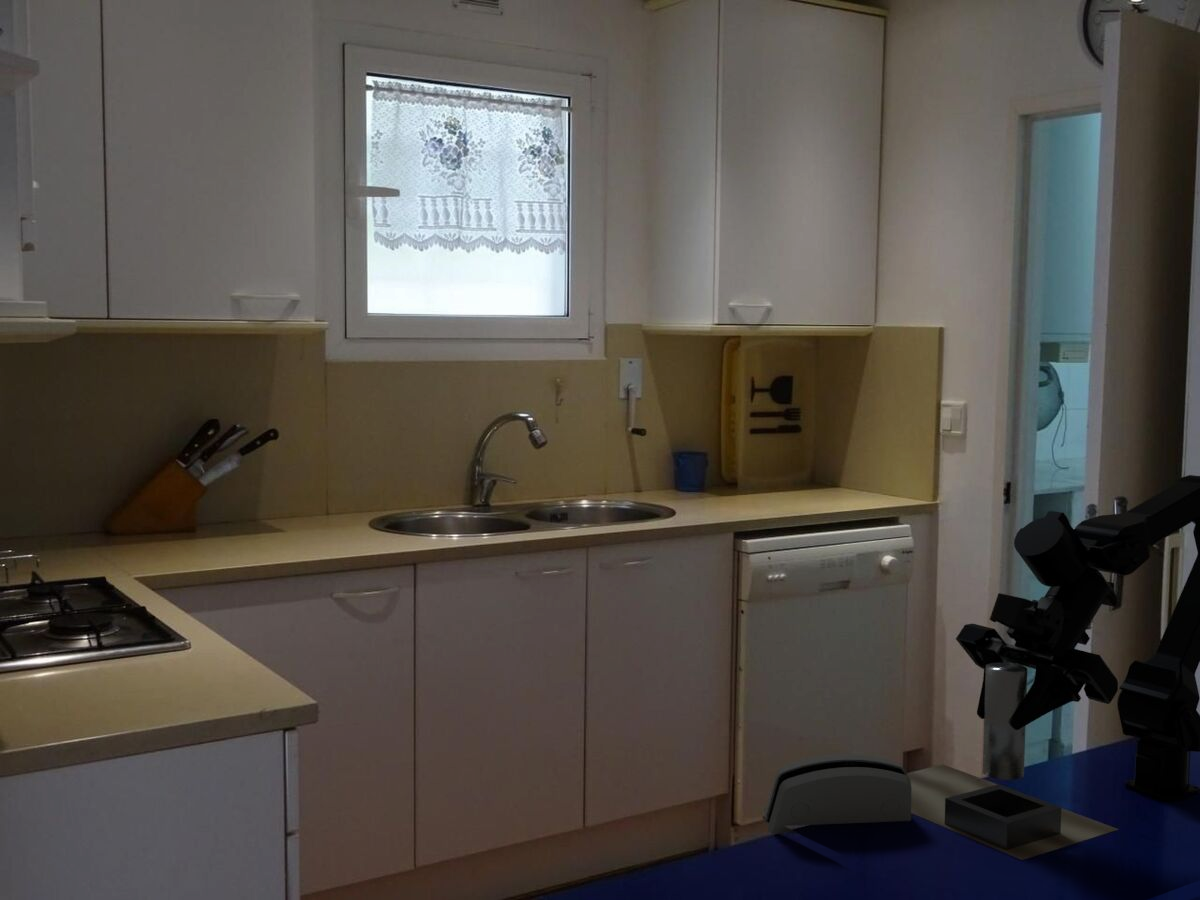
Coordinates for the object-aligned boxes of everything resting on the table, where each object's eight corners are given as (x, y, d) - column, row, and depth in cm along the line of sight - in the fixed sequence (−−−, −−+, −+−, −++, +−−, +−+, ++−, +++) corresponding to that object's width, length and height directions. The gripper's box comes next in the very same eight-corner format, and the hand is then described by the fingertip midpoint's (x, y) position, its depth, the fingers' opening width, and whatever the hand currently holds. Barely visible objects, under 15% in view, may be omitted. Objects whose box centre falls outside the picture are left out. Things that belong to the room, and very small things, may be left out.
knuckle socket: (997, 809, 156) (998, 784, 156) (1060, 833, 149) (1061, 807, 148) (944, 824, 151) (945, 798, 151) (1006, 850, 144) (1007, 823, 144)
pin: (990, 764, 152) (993, 660, 151) (1029, 771, 150) (1032, 666, 149) (977, 775, 149) (980, 669, 148) (1016, 782, 146) (1020, 674, 145)
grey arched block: (898, 813, 158) (910, 744, 154) (911, 841, 154) (923, 771, 149) (759, 819, 156) (767, 749, 152) (767, 847, 152) (776, 776, 147)
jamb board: (942, 771, 172) (943, 764, 172) (1118, 838, 150) (1118, 829, 150) (850, 795, 163) (850, 787, 163) (1021, 868, 141) (1022, 859, 141)
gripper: (969, 555, 157) (898, 660, 152) (1105, 581, 141) (1031, 699, 137) (1013, 613, 162) (946, 717, 157) (1149, 645, 146) (1079, 761, 142)
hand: (996, 722), depth 148 cm, fingers closed on pin, 4 cm apart
